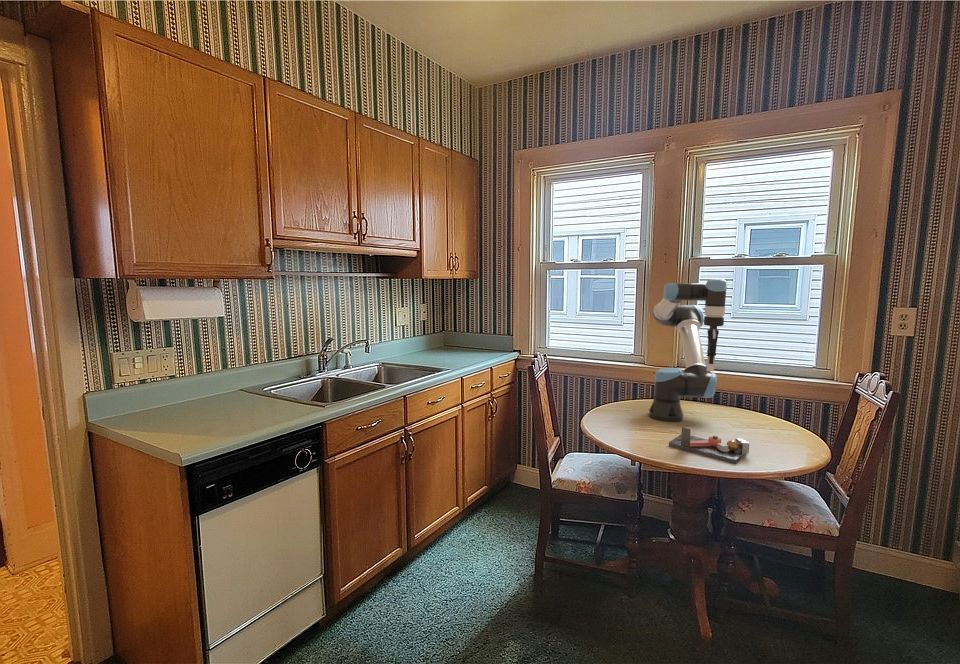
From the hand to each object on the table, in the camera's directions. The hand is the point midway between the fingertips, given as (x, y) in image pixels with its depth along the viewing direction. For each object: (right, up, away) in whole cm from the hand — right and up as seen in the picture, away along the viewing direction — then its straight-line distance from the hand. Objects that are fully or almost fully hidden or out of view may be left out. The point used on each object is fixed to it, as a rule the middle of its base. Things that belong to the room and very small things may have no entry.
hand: (710, 370), depth 193 cm
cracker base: (-11, -29, -18) cm, 36 cm away
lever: (-13, -27, -21) cm, 37 cm away
